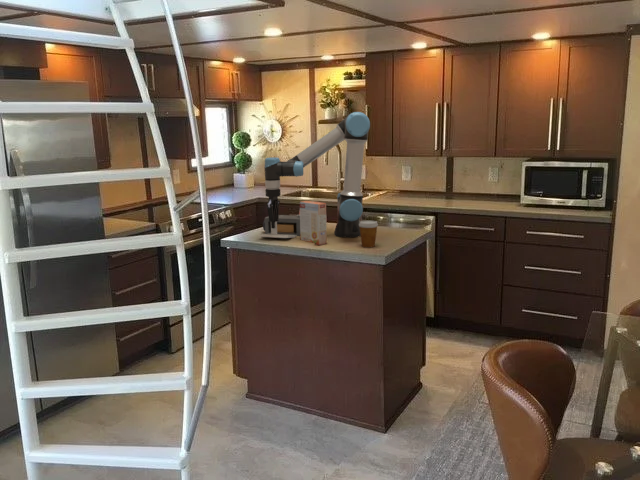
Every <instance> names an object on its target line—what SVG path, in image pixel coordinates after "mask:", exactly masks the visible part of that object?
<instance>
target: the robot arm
mask: <svg viewBox="0 0 640 480" xmlns="http://www.w3.org/2000/svg"><path fill="white" fill-rule="evenodd" d="M370 129H371V121H370V119H369V117H368V116H367V115H366V114H365V113H364V112H361V111H354V112H353V111H352V112H351V113H349V114H347V116H345V118H343V120H341V121H339V122H338V123H337V124H336V127H335V128H334V129H332V130H330V131H329V132H328V133H327V134H325V135H323V136H322V137H321V138H319V139H318V140H316V141H315V142H313V143H312V144H310V145H309V146H307V147H306V148H305V149H303V150H302V151H300V152H299V153H298V154H296V155H294V156H293V157H291V158H290V159H288V160H286V161H281V160H280V157H266V158H265V159H264V180H265V181H264V184H265V186H264V187H265V189H264V190H265V191H264V192H265V196H266V197H268V201H267V203H266V209H267V215H268V216H267V217H269V222H271V234H275V235H276V234H277V222H276V221H279V220H277V219H278V218H279V215H280V203H281V201H280V200H279V198H278V197H280V196H281V177H282V178H283V177H296V178H297V177H303V176H304V168H306V167H307V166H309V165H310V164H312V163H313V162H314V161H316V160H317V159H318V158H320V157H321V156H323V155H324V154H326V153H327V152H329V151H330V150H332V149H333V148H335V147H336V146H338V145H339V144H340V143H342V142H344V141H346V153H345V167H344V179H343V190H342V191H341V192H338V193H337V197H336V200H337V203H336V204H337V221H336V225H335V227H334V232H333V233H334V236H335V237H339V238H358V236H359V237H361V234H360V227H359V223H360V218H361V216H362V215H363V212H364V208H363V197H364V194H363V193H362V192H361V187H362V175H363V164H364V163H363V162H364V161H363V160H364V151H365V149H364V148H365V144H366V142H368V139H369V130H370Z"/></svg>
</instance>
